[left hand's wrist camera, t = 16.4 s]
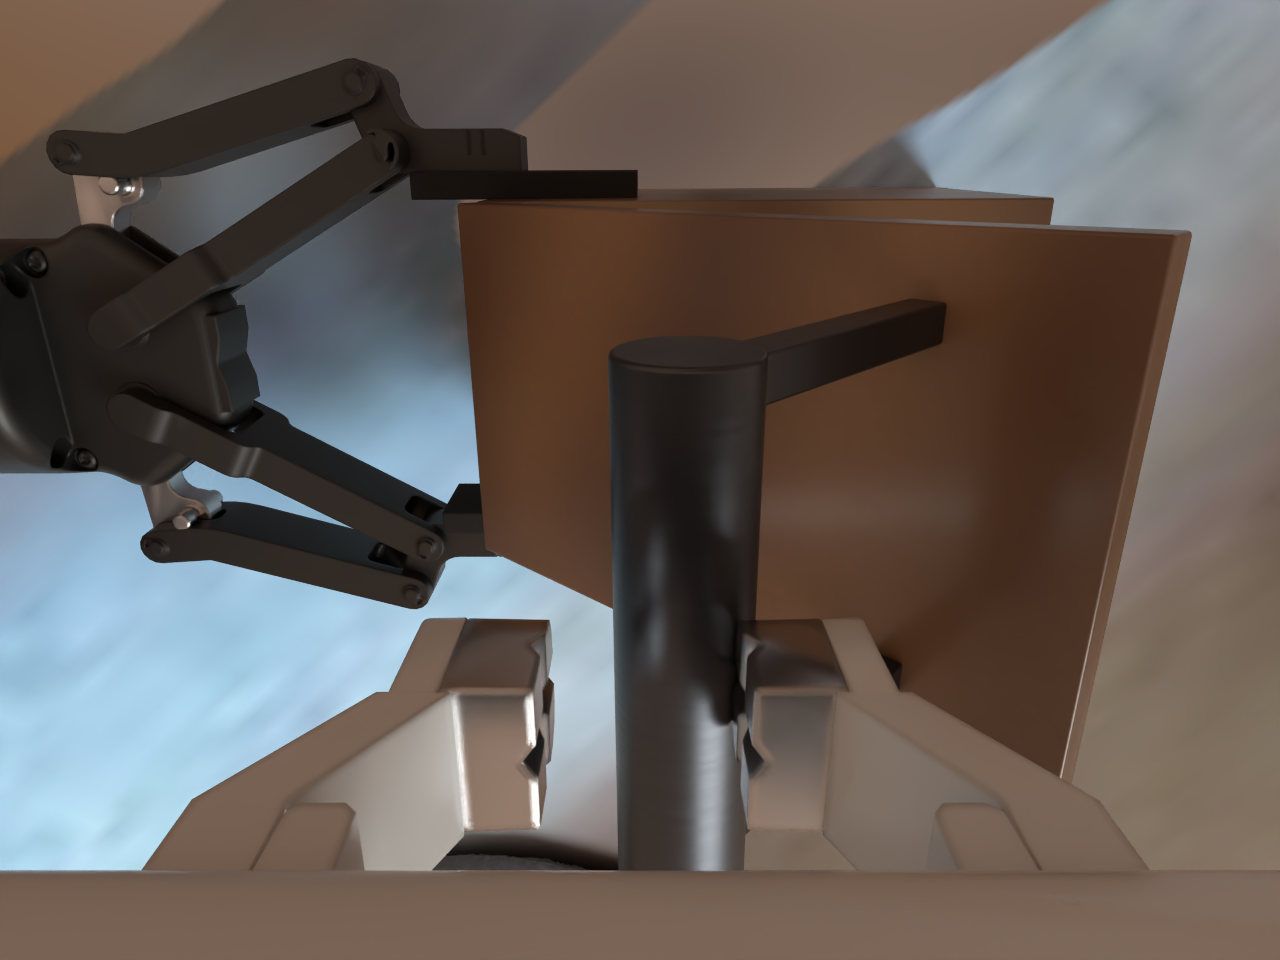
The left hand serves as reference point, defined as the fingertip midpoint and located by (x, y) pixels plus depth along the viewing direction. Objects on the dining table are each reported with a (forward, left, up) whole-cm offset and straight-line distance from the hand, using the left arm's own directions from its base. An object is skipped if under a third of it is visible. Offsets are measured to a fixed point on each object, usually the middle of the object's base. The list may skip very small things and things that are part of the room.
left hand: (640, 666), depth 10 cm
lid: (-2, 0, -9) cm, 9 cm away
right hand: (0, 0, -18) cm, 18 cm away
